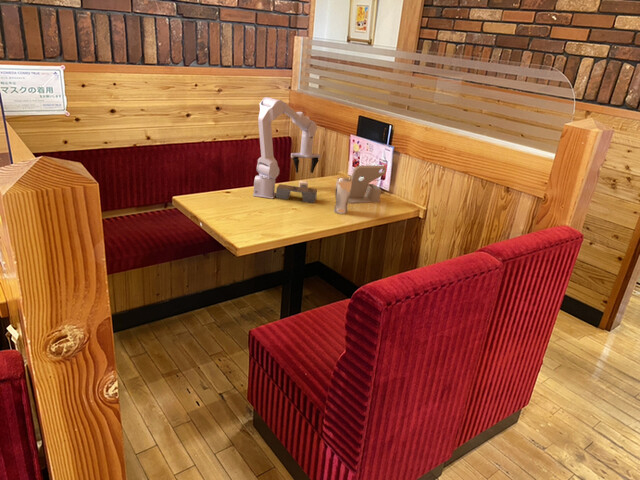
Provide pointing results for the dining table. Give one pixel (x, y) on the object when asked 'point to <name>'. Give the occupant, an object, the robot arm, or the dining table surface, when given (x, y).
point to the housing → (285, 190)
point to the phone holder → (365, 184)
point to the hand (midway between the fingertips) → (304, 172)
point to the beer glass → (342, 194)
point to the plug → (303, 184)
